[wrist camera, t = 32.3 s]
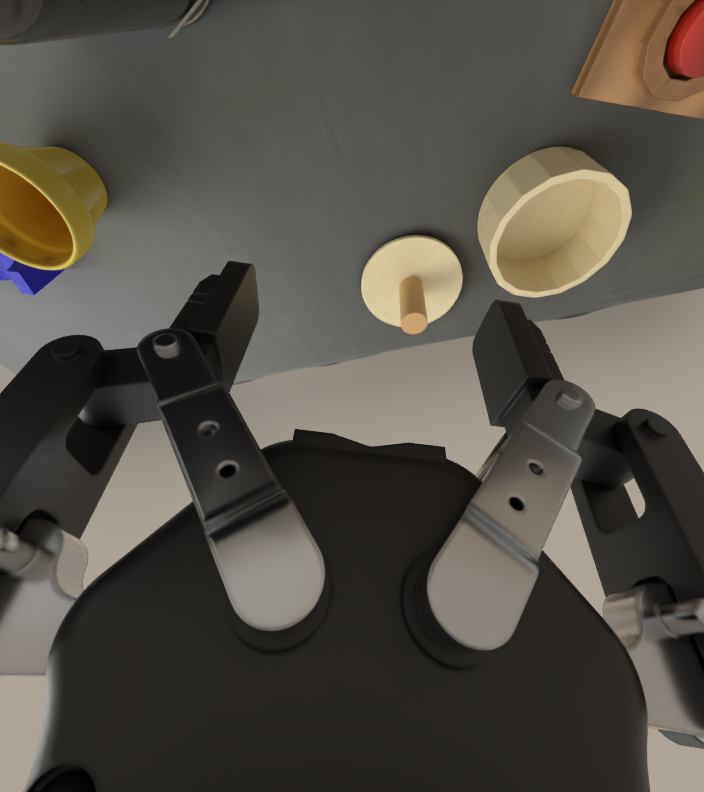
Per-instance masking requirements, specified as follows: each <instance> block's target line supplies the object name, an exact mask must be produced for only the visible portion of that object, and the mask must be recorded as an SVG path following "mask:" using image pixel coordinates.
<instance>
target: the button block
mask: <svg viewBox="0 0 704 792" xmlns="http://www.w3.org/2000/svg"><path fill="white" fill-rule="evenodd" d="M696 1H697V0H613V2H612V5H611V7H610V9H609V11H608V13H607V15H606V18H605V20H604V22H603V24H602V26H601V28H600V31H599V33H598V35H597V37H596V39H595V42H594V44H593V46H592V48H591V50H590V52H589V55H588V57H587V59H586V61H585V63H584V65H583V68H582V70H581V72H580V74H579V76H578V78H577V81H576V83H575V85H574V87H573V89H572V92H571V94H573V95H575V96H577V97H580V98H586V99H592V100H597V101H603V102H609V103H615V104H620V105H626V106H632V107H637V108H643V109H649V110H655V111H660V112H666V113H672V114H677V115H683V116H689V117H694V118H700V119H704V77H700V78H691V77H687V76H683V75H679V74H676V73H674V72H672V71H671V70H670V68H669V67H668V64H667V48H668V44H669V41H670V38H671V36H672V33H673V31H674V29H675V28H676V26H677V24H678V23H679V21H680V20H681V18H682V17H683V15H684V14H685V13H686V12H687V11H688V9H689V8H690V7H691V6H692V5H693V4H694V3H695V2H696Z"/></svg>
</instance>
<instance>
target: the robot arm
mask: <svg viewBox="0 0 704 792" xmlns="http://www.w3.org/2000/svg"><path fill="white" fill-rule="evenodd" d="M210 3H211V0H0V45H23V44H31V43H39V42H48V41H56V40H65V39H73V38H80V37H86V36H94V35H102V34H111V33H119V32H127V31H136V30H144V29H152V28H163V27H168V28H175V29H174V31H173V32H172V33H171V34H170V36H169V37H168V38H170V37H173V36H174V35H175V34H176V33H177V32H178V30H179V29H180V28H181V27H184V26H188V25H190V24H192V23H194V22H196V21H197V20H198V19H199V18H200V17H201V16H202V15H203V14H204V13H205V11H206V10H207V8H208V6H209V5H210ZM258 315H259V302H258V293H257V283H256V274H255V268H254V265H253V264H248V263H241V262H234V261H228V262H227V264H226V266H225V267H224V269H223V271H222V272H221V274H220V275H213V274H212V275H210V276H208V277H207V278H205V279H204V280H202V281H201V282H199V284H198V285H197V287H196V288H195V290H194V291H193V294H192V295H191V296H190V298H189V299H188V302H186V304H185V305H184V307H183V308H182V310H181V311H180V313H179V314H178V316H177V317H176V319H175V320H174V322H173V323H172V325H171V326H170V328H169V329H162V330H158V331H155V332H153V333H150V334H149V335H147V336H146V337H144V338H143V339H142V340H141V341H140V343H139V344H138V347H135V348H126V349H115V350H104V349H103V347H102V345H101V344H100V342H99V341H98V340H97V339H95V338H93V337H90V336H86V335H71V336H66V337H62V338H58V339H56V340H53V341H51V342H49V343H47V344H46V345H44V346H43V347H42V348H41V349H39V350H38V351H37V353H36V354H35V355H34V356H33V357H32V358H31V359H30V361H29V362H28V363H27V364H26V365H25V366H24V367H23V368H22V370H21V371H20V372H19V373H18V374H17V375H16V377H14V379H13V380H12V381H11V382H10V383H9V384H8V385H7V387H6V388H5V389H4V390H3V391H2V392H1V393H0V676H26V677H27V676H29V677H31V676H32V677H33V676H35V677H36V676H38V677H45V701H44V703H45V704H44V712H43V720H42V727H41V732H40V737H39V742H38V747H37V751H36V754H35V758H34V761H33V765H32V768H31V772H30V775H29V778H28V781H27V784H26V787H25V789H24V791H23V792H650V786H649V777H648V768H647V733H648V728H653V729H658V730H659V731H660V732H661V733H662V734H663V735H664V736H665V737H667V738H668V739H669V740H671V741H673V742H675V743H677V744H679V745H683V746H689V747H695V748H702V749H704V472H703V471H702V469H701V467H700V466H699V464H698V463H697V461H696V459H695V458H694V456H693V455H692V453H691V451H690V450H689V448H688V446H687V445H686V443H685V441H684V440H683V438H682V437H681V435H680V434H679V432H678V431H677V429H676V428H675V427H674V426H673V425H672V424H671V423H670V422H668V421H667V420H666V419H664V418H663V417H661V416H660V415H658V414H656V413H654V412H651V411H648V410H645V409H632V410H631V411H629V412H628V413H626V414H625V415H624V416H623V417H622V418H619V417H617V416H614V415H611V414H608V413H606V412H603V411H600V410H598V409H595V404H594V402H593V400H592V398H591V397H590V396H589V394H587V392H586V391H584V390H583V389H582V388H580V387H579V386H577V385H575V384H573V383H571V382H568V381H565V380H564V378H563V376H562V374H561V372H560V370H559V367H558V365H557V363H556V361H555V359H554V357H553V355H552V353H550V349H549V346H548V344H546V340H545V338H544V336H543V334H542V331H541V330H540V329H539V328H538V327H537V326H536V325H535V324H534V323H533V322H532V321H531V320H527V318H526V316H525V314H524V311H523V309H522V307H521V305H520V304H519V303H515V302H508V301H501V300H495V301H494V302H493V303H492V304H491V306H490V308H489V310H488V312H487V314H486V316H485V318H484V320H483V322H482V324H481V326H480V328H479V330H478V332H477V334H476V336H475V338H474V342H473V348H472V349H473V350H472V351H473V356H474V360H475V364H476V368H477V372H478V376H479V380H480V384H481V389H482V393H483V397H484V400H485V405H486V409H487V413H488V417H489V421H490V425H491V426H499V427H505V429H506V433H505V434H504V435H503V436H502V438H501V439H500V441H499V442H498V443H497V445H496V446H495V448H494V449H493V451H492V452H491V454H490V455H489V457H488V458H487V459H486V461H485V462H484V464H483V465H482V467H481V469H479V471H478V472H477V474H476V475H474V474H472V473H471V472H470V471H468V470H467V469H465V468H464V467H462V466H461V465H459V464H457V463H455V462H453V461H451V460H448V459H446V452H445V447H439V446H432V445H423V444H415V443H401V444H393V445H384V446H375V447H370V446H366V445H364V444H361V443H358V442H355V441H352V440H349V439H346V438H344V437H340V436H338V435H335V434H332V433H324V432H316V431H308V430H298V429H295V431H294V436H293V440H289V441H283V442H279V443H275V444H272V445H269V446H267V447H265V448H263V449H260V448H259V446H258V444H257V442H256V440H255V439H254V437H253V435H252V433H251V431H250V430H249V428H248V426H247V424H246V422H245V420H244V419H243V417H242V415H241V413H240V412H239V410H238V408H237V406H236V404H235V402H234V401H233V399H232V397H231V395H230V393H229V392H230V389H231V387H232V384H233V382H234V379H235V377H236V374H237V372H238V369H239V367H240V364H241V362H242V359H243V357H244V354H245V352H246V349H247V347H248V344H249V342H250V339H251V337H252V334H253V332H254V329H255V327H256V324H257V321H258ZM156 420H162V422H163V424H164V427H165V430H166V432H167V435H168V437H169V440H170V442H171V445H172V448H173V450H174V453H175V455H176V458H177V460H178V463H179V465H180V468H181V470H182V473H183V476H184V478H185V481H186V483H187V486H188V489H189V491H190V494H191V497H192V499H193V502H191V503H190V504H189V505H187V506H186V507H185V508H184V509H183V510H181V511H180V512H179V513H177V514H176V515H175V516H174V517H172V518H171V519H170V520H169V521H167V522H166V523H165V524H164V525H163V526H161V527H160V528H159V529H157V530H156V531H155V532H154V533H152V534H151V535H150V536H149V537H147V538H146V539H145V540H144V541H142V542H141V543H140V544H138V545H137V546H136V547H135V548H133V549H132V550H131V551H130V552H128V553H127V554H126V555H125V556H123V557H122V558H121V559H120V560H118V561H117V562H116V563H115V564H113V565H112V566H111V567H110V568H108V569H107V570H106V571H105V572H103V573H102V574H101V575H100V576H98V577H97V578H96V579H95V580H94V581H93V582H92V583H91V584H90V585H89V586H88V587H87V588H86V589H85V590H83V578H84V573H85V570H86V567H87V563H88V551H87V548H86V546H85V544H84V543H83V542H82V541H81V540H80V538H81V536H82V534H83V532H84V530H85V528H86V526H87V524H88V522H89V520H90V518H91V516H92V514H93V512H94V510H95V508H96V506H97V504H98V502H99V500H100V498H101V496H102V494H103V492H104V490H105V488H106V486H107V484H108V482H109V480H110V478H111V476H112V474H113V472H114V470H115V468H116V466H117V464H118V462H119V460H120V458H121V456H122V454H123V452H124V450H125V448H126V446H127V444H128V442H129V440H130V438H131V436H132V434H133V432H134V430H135V428H136V426H137V424H138V423H144V422H150V421H156ZM633 478H635V480H636V483H637V485H638V487H639V489H640V491H641V493H642V496H643V498H644V500H645V512H644V514H643V515H642V516H641V517H640V518H638V516H637V514H636V511H635V509H634V507H633V505H632V502H631V500H630V497H629V495H628V493H627V491H626V488H625V486H624V484H625V483H627V482H629V481H630V480H632V479H633ZM570 487H571V490H572V493H573V496H574V500H575V503H576V505H577V509H578V512H579V515H580V518H581V521H582V525H583V528H584V531H585V534H586V537H587V540H588V543H589V546H590V549H591V553H592V556H593V559H594V562H595V565H596V568H597V571H598V575H599V578H600V581H601V584H602V587H603V590H604V593H605V596H606V599H605V601H604V604H603V618H602V617H601V616H600V614H599V613H598V612H597V611H596V610H595V609H594V608H593V607H592V605H591V604H590V603H589V602H588V601H587V600H586V599H585V598H584V597H583V595H582V594H581V593H580V592H579V591H578V590H577V589H576V588H575V586H574V585H573V584H572V583H571V582H570V581H569V579H568V578H567V577H566V576H565V575H564V574H563V573H562V572H561V570H560V569H559V568H558V567H557V566H556V565H555V564H554V563H553V561H551V559H550V558H549V557H548V556H547V555H546V554H545V553H544V551H543V550H542V549H543V547H544V545H545V542H546V540H547V538H548V536H549V533H550V531H551V529H552V527H553V524H554V522H555V520H556V518H557V515H558V513H559V511H560V509H561V506H562V504H563V502H564V499H565V497H566V495H567V493H568V490H569V488H570Z"/></svg>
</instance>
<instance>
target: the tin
mask: <svg viewBox="0 0 704 792" xmlns="http://www.w3.org/2000/svg"><path fill="white" fill-rule="evenodd" d="M631 216H632V209H631V203H630V197H629V192H628V189H627V188H626V187H625V186H624V185H623V184H622V183H621V182H620V181H619V180H618V179H617V178H616V177H615V176H613V175H612V174H611V173H610V172H609V171H607V170H606V169H605V168H603V167H602V166H601V165H600V164H598V163H597V162H596V161H594V160H593V159H592V158H590V157H589V156H588V155H587V154H585V153H584V152H583V151H580V150H576V149H573V148H569V147H550V148H545V149H541V150H538V151H535V152H533V153H530V154H528V155H526V156H524V157H523V158H521V159H519V160H518V161H516V162H515V163H514V164H512V165H511V166H510V167H508V168H507V169H506V170H505V171H504V172H503V173H502V174H501V175H500V176H499V177H498V179H497V180H496V181H495V182H494V183H493V185H492V186H491V188H490V189H489V191H488V193H487V194H486V196H485V198H484V200H483V203H482V205H481V208H480V211H479V216H478V225H477V228H478V239H479V242H480V244H481V247H482V250H483V252H484V255H485V257H486V260H487V262H488V265H489V268H490V270H491V272H492V274H493V275H494V277H495V279H496V281H497V283H498V285H500V286H501V287H503V288H504V289H506V290H507V291H509V292H510V293H512V294H514V295H520V296H527V297H534V298H535V297H542V296H547V295H553V294H558V293H561V292H563V291H565V290H567V289H569V288H571V287H573V286H576V285H578V284H580V283H582V282H584V281H585V280H587V279H588V278H589V277H590V276H591V275H593V274H594V273H595V272H596V271H598V270H599V269H600V268H601V267H603V266H604V265H605V264H606V263H607V262H608V261H609V260H610V258H611V257H612V255H613V254H614V253H615V251H616V250H617V249H618V247H619V246H620V244H621V243H622V242H623V240H624V238H625V235H626V232H627V229H628V226H629V222H630V219H631Z"/></svg>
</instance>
